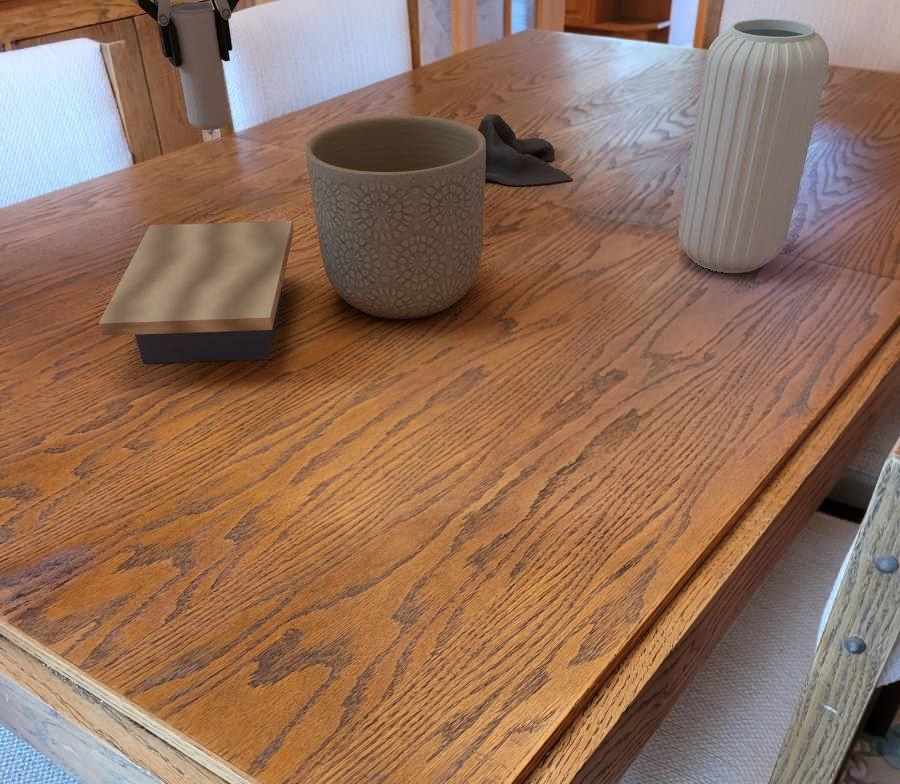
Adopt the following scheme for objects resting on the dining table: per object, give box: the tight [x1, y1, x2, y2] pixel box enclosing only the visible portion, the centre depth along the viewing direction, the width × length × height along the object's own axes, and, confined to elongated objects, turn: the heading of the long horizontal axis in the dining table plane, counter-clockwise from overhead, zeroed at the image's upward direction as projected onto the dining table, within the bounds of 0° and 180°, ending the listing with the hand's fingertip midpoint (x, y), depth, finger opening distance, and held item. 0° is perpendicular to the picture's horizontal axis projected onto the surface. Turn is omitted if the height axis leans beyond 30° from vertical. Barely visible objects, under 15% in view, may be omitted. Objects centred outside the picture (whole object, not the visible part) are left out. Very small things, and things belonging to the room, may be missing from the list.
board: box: [98, 220, 295, 336], centre depth 87 cm, size 15×22×1 cm
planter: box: [305, 114, 486, 320], centre depth 90 cm, size 17×17×15 cm
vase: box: [677, 18, 830, 274], centre depth 93 cm, size 12×12×22 cm
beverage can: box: [169, 1, 230, 131], centre depth 103 cm, size 5×5×12 cm
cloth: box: [477, 113, 573, 187], centre depth 122 cm, size 22×19×6 cm
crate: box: [134, 287, 284, 364], centre depth 89 cm, size 12×14×5 cm
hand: (199, 59), depth 102 cm, fingers closed on beverage can, 4 cm apart
